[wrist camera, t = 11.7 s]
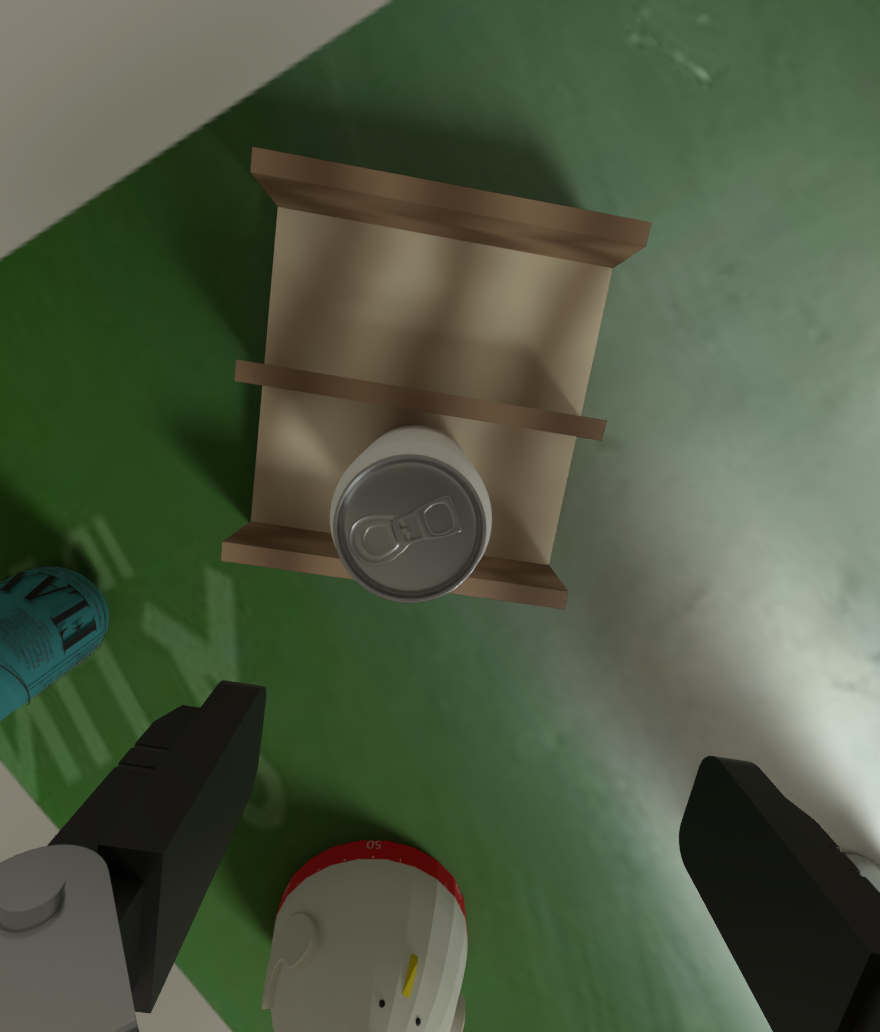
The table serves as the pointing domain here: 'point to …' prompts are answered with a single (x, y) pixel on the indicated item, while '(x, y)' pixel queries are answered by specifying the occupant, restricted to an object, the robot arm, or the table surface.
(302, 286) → the rack
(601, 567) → the table surface
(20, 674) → the beverage bottle
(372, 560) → the can
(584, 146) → the table surface
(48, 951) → the robot arm
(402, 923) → the kitchen timer
